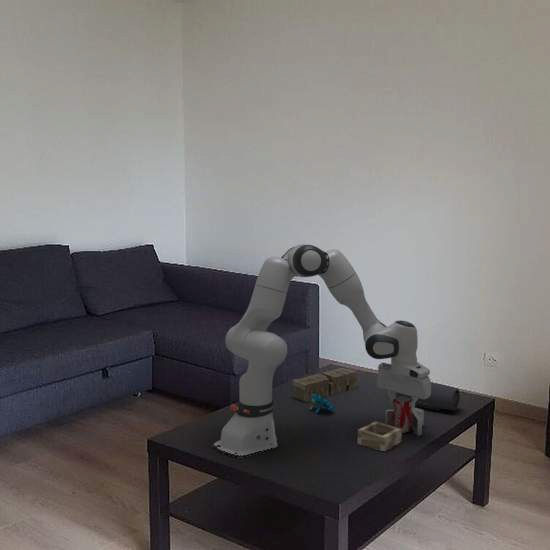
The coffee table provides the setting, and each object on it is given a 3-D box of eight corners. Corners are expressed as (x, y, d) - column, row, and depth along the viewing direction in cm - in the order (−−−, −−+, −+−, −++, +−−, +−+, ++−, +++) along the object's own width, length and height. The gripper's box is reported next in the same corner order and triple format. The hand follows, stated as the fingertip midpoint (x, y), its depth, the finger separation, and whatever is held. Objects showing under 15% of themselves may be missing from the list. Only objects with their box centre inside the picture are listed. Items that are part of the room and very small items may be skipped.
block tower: (343, 386, 309) (291, 398, 291) (344, 366, 308) (292, 378, 289) (356, 390, 303) (304, 403, 285) (357, 371, 302) (305, 383, 283)
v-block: (419, 437, 251) (420, 420, 250) (383, 426, 261) (384, 410, 260) (434, 429, 259) (434, 413, 258) (398, 418, 268) (399, 403, 267)
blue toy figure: (340, 409, 273) (323, 394, 269) (332, 423, 271) (315, 407, 267) (323, 405, 283) (307, 390, 279) (315, 417, 281) (298, 402, 277)
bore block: (384, 452, 239) (384, 437, 238) (357, 443, 246) (357, 429, 245) (401, 442, 247) (401, 428, 246) (375, 434, 253) (375, 421, 253)
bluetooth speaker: (459, 409, 279) (461, 384, 277) (451, 416, 271) (452, 390, 269) (404, 398, 291) (405, 374, 289) (395, 404, 283) (395, 380, 282)
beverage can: (410, 435, 253) (412, 402, 251) (392, 433, 254) (393, 401, 252) (410, 428, 259) (411, 396, 257) (393, 427, 260) (394, 395, 258)
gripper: (373, 363, 257) (372, 400, 259) (424, 375, 244) (423, 414, 246) (383, 359, 262) (382, 396, 264) (434, 370, 248) (432, 409, 251)
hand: (402, 405), depth 255 cm, fingers closed on beverage can, 6 cm apart
